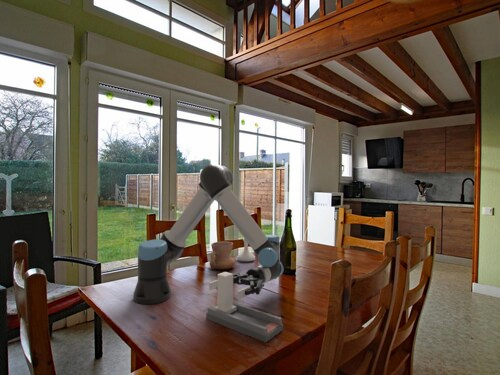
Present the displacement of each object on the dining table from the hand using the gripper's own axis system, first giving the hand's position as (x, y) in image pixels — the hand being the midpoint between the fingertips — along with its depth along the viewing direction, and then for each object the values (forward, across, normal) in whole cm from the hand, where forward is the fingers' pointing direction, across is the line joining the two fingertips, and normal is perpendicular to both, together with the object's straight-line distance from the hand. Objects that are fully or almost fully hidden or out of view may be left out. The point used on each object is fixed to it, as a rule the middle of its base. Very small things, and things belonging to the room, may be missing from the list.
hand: (223, 290), depth 106 cm
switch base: (-1, -8, -10) cm, 13 cm away
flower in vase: (-68, +42, -10) cm, 80 cm away
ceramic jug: (-45, +43, -10) cm, 63 cm away
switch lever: (-1, 0, -8) cm, 8 cm away
